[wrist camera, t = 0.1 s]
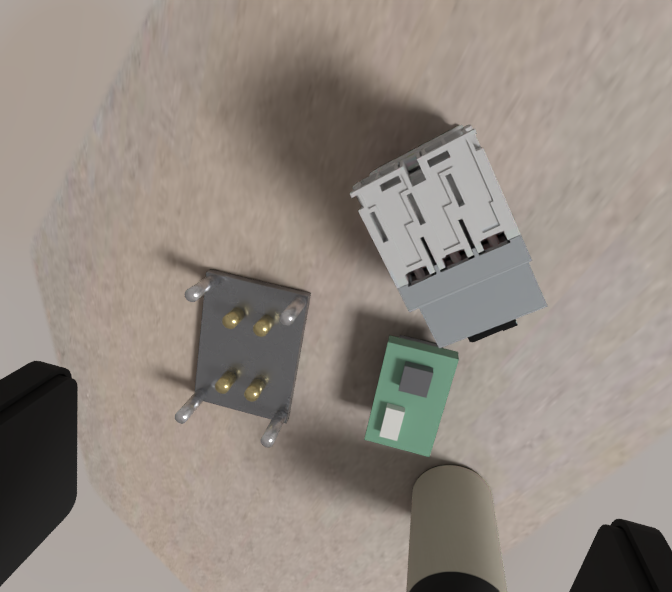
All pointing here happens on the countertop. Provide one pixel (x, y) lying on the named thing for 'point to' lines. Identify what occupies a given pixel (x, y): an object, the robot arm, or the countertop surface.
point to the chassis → (248, 347)
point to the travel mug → (454, 534)
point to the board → (411, 395)
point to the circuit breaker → (450, 238)
